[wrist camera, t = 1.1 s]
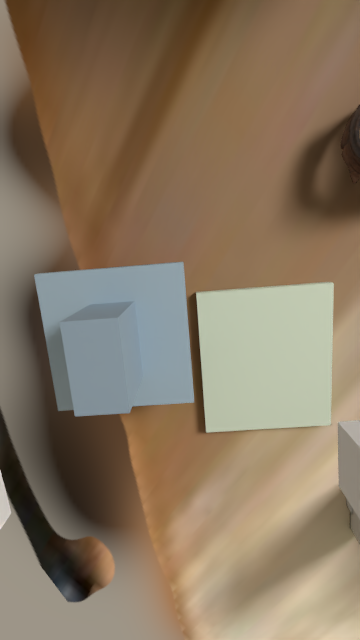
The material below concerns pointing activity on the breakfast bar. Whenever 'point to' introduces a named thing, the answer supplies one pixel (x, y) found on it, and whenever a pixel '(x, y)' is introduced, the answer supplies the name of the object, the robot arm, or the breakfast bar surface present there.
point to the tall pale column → (354, 522)
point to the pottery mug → (352, 145)
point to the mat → (266, 356)
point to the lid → (117, 337)
